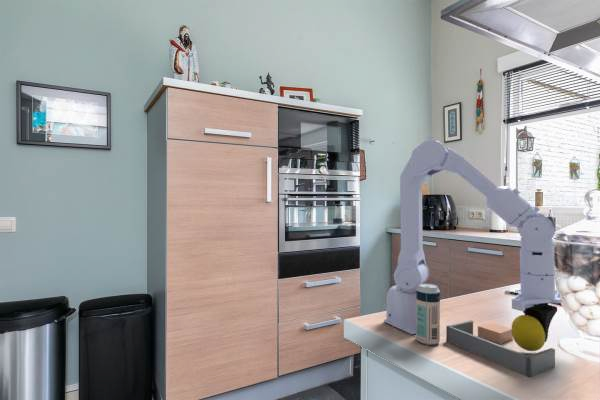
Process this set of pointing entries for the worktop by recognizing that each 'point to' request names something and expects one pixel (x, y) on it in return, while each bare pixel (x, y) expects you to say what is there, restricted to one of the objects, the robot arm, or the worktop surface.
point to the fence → (499, 351)
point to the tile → (495, 332)
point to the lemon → (528, 333)
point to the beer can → (428, 314)
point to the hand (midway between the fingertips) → (539, 340)
